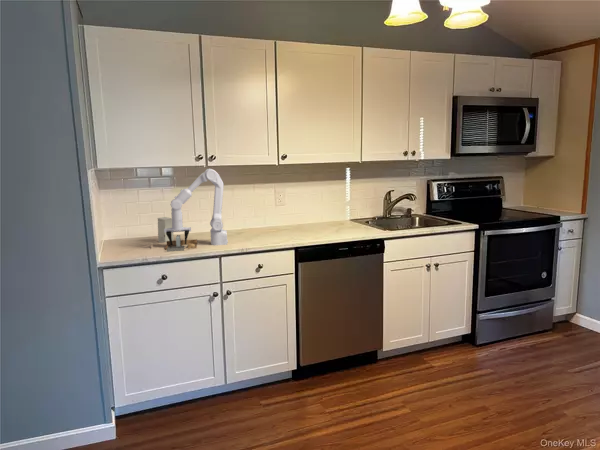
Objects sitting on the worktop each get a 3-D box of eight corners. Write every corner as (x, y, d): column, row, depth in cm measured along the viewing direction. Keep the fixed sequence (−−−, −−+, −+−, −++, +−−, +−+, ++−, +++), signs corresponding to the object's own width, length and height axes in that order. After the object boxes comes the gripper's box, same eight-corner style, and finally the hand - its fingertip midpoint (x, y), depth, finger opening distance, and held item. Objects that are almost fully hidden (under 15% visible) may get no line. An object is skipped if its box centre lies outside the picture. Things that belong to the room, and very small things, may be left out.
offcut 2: (194, 248, 256) (194, 246, 256) (194, 250, 252) (194, 247, 252) (188, 249, 255) (188, 246, 255) (188, 250, 251) (188, 248, 251)
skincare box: (158, 242, 273) (156, 217, 270) (166, 240, 277) (165, 216, 275) (165, 244, 267) (164, 219, 265) (174, 242, 272) (173, 217, 269)
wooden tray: (197, 245, 262) (196, 239, 262) (196, 249, 251) (196, 243, 250) (167, 246, 259) (166, 240, 259) (165, 251, 247) (164, 245, 247)
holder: (184, 250, 249) (184, 246, 249) (184, 252, 245) (184, 247, 244) (167, 251, 247) (167, 247, 247) (167, 253, 243) (166, 248, 243)
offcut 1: (193, 246, 255) (192, 243, 255) (193, 247, 252) (193, 244, 252) (187, 246, 254) (187, 244, 254) (188, 247, 251) (188, 245, 251)
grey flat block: (180, 247, 259) (180, 235, 257) (180, 250, 251) (179, 237, 250) (177, 247, 258) (176, 235, 257) (176, 250, 250) (175, 238, 249)
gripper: (190, 218, 257) (192, 242, 259) (164, 220, 254) (165, 243, 257) (190, 220, 250) (191, 244, 253) (163, 222, 247) (164, 246, 250)
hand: (178, 244), depth 254 cm, fingers open, 7 cm apart
